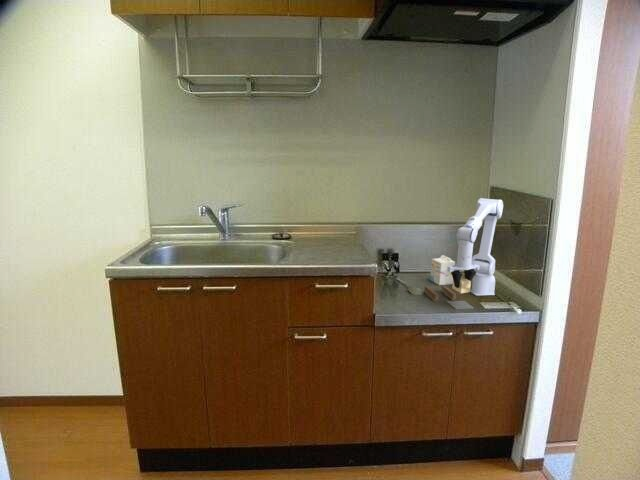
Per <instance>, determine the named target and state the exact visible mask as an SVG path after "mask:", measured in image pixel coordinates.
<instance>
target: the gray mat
mask: <svg viewBox="0 0 640 480" xmlns="http://www.w3.org/2000/svg"><path fill="white" fill-rule="evenodd" d="M446 302H447V304H448V305H449V306H451V307H452V308H453V309H455V310H473V309H474V306H472V305H470V304H469V303H468V302H467V301H465V300H450V301H449V300H448V301H446Z"/></svg>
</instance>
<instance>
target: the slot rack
mask: <svg viewBox="0 0 640 480" xmlns="http://www.w3.org/2000/svg"><path fill="white" fill-rule="evenodd" d="M441 293H442V294H444V295H445V296H446V297H448V298H449V300H450V301H457V300H456V299H457V293H456V292H454V291H453V289H450V288H449V287H447V285H441ZM423 294H426V295H427V296H428V297H429V298H430V299H431V300H432V301H433V302H438V300H439V299H438V297H439V294H438V293H437V292H435V290H433V289H432V288H430V287H429V286H426V285H425V286H424V290H423Z"/></svg>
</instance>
